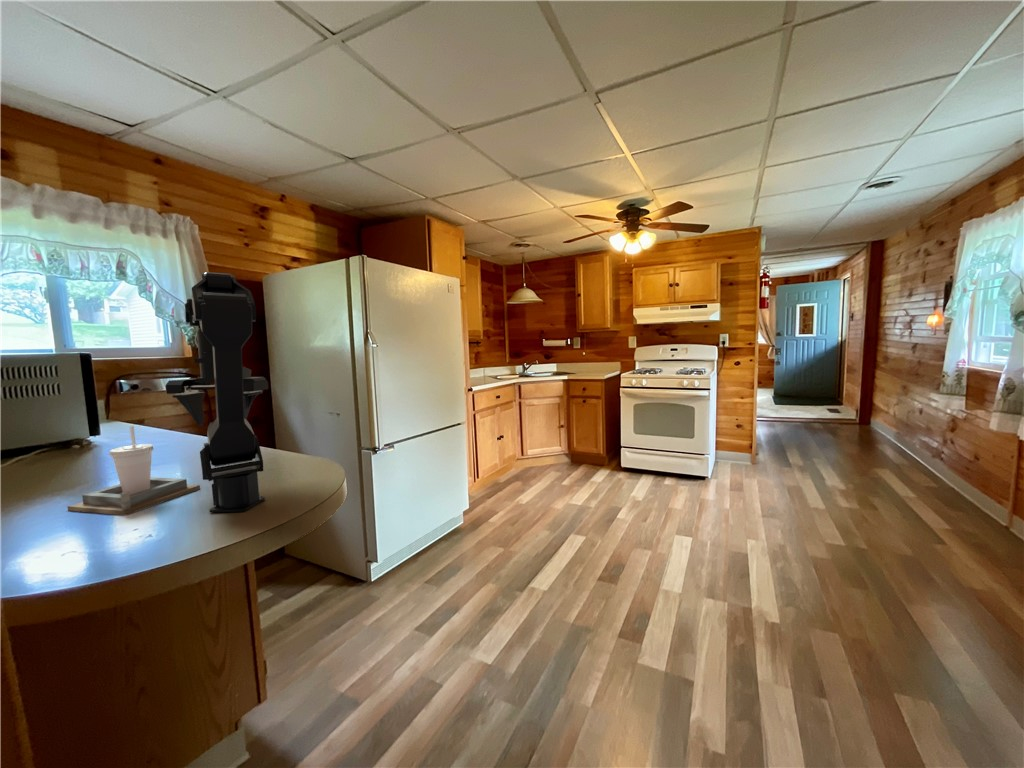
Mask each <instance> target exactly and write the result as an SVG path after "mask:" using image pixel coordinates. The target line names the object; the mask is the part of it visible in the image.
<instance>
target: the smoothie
mask: <svg viewBox="0 0 1024 768" xmlns="http://www.w3.org/2000/svg"><path fill="white" fill-rule="evenodd" d="M129 430H130V440H131V445H125V446H119V447H116V448H112V449H110V450H109V457H112V460H113V464H114V467H115V470H116V473H117V477H118V481H119V483H120V484H121V488H122V491H123V492H130V495H131V494H134V493H138V492H141V491H144V490H147V489H150V477H151V474H152V473H151V471H152V459H153V458H152V453H153V451H154V449H155V448H154V445H153V444H151V443H142V444H140V443H139V444H136V434H135V426H134V425H130V426H129Z"/></svg>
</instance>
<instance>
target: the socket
mask: <svg viewBox="0 0 1024 768" xmlns="http://www.w3.org/2000/svg"><path fill="white" fill-rule="evenodd" d="M198 490H201V485H200V484H189V483H188V480H187V478H173V477H172V478H170V477H156V476H155V477H153V476H152V477H151V476H150V489H147V490H144V491H141V492H138V493H134V494H131V495H130V492H123V491H122V488H121V484H117V485H113V486H109V487H106V488H103V489H99V490H95V491H91V492H87V493H85V494H82V495H81V497H82V501H80V502H77V503H74V504H71V505H67V511H70V512H80V511H82V513H83V512H84V513H94V514H105V515H107V514H108V515H115V516H116V515H117V516H128V515H130V514H133V513H136V512H139V511H142V510H144V509H148V508H150V507H152V506H156V505H158V504H162V503H165V502H167V501H170V500H173V499H175V498H178V497H180V496H183V495H187V494H189V493H192V492H195V491H198Z"/></svg>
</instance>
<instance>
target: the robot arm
mask: <svg viewBox="0 0 1024 768" xmlns="http://www.w3.org/2000/svg"><path fill="white" fill-rule="evenodd" d="M184 313H185V314H184V315H185V323H186V324H187V323H188V324H189V325H188V326H189V327H197V328H198V329H197V331H196V334H195V337H194V343H195V346H196V348H198V352H197V353H198V357H196V358H194V364H199V372H200V377H196V378H182V379H181V378H180V379H171V380H170V379H169V380H168V381H167V382H166V384H165V386H164V387H165V394H167V395H172V398H173V399H176V400H177V401H178V402H179V403H180V404H181V405H182V406H183V407H184V409H185V410H186V411H187V412H188V414H189V415H190V416H191V418H192V419H193V420H194V422H195V423H196V424H197V426H204V420H205V419H204V418H205V417H204V416H205V415H204V405H203V399H204V397H205V395H206V391H207V390H209V391H210V390H214V391H215V392H214V393H215V409H216V411H215V412H216V418H215V420H213V421H212V422H209V425H208V426H207V431H206V432H207V433H206V434H207V436H206V437H207V442H204V443H203V446H202V449H201V450H200V451H199V458H200V463H201V464H200V466H201V474H202V475H201V476H202V480H204V481H208V482H212V483H211V491H212V504H213V507H211V508H209V509H208V510H209V511H208V512H209V513H235V512H236V513H237V512H238V513H239V512H241V513H243V512H245V511H247V510H249V509H251V508H252V507H254V506H256V505H257V504H259V503H261V502H262V501H264V500H265V499H266V497H265V496H261V495H260V490H259V477H258V472H259V473H261V472H264V460H263V456H262V451H261V446H260V443H259V438H258V436H257V435H255V433H254V430H253V428H252V425H251V424H250V423H249V421H248V420H247V419H248V416H249V412H250V409H251V406H252V404H253V401H254V399H255V398H256V397H257V396H258V395H259V394H263V391H265V390H269V381H268V380H267V378H265V376H252V369H250V368H247V367H245V366H244V365H243V347H244V345H245V344H246V343H247V341H248V340H249V339H250V338H251V336H252V335H253V322H255V323H256V320H257V308H256V303H255V299H254V297H253V294H252V291H251V290H250V289H248V288H247V287H245V286H244V285H242V284H241V283H239V282H238V281H237V279H236V276H235V275H232V274H231V273H222V272H211V271H210V272H209V271H206V272H200V281H199V282H197V283H196V284H194V285H193V286H192V287H191V297H187V298H186V302H185V303H184ZM193 320H194V321H193ZM211 383H214V384H211ZM203 390H206V391H203ZM212 466H213V467H212Z"/></svg>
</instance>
